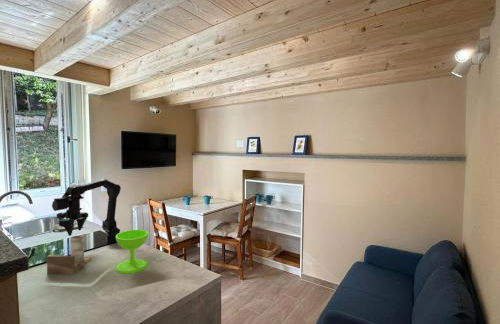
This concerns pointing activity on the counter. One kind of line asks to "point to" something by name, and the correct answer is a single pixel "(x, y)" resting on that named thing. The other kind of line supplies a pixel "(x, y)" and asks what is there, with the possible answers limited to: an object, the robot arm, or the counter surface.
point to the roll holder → (62, 265)
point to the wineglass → (131, 250)
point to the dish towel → (59, 228)
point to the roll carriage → (78, 249)
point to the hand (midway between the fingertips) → (74, 232)
